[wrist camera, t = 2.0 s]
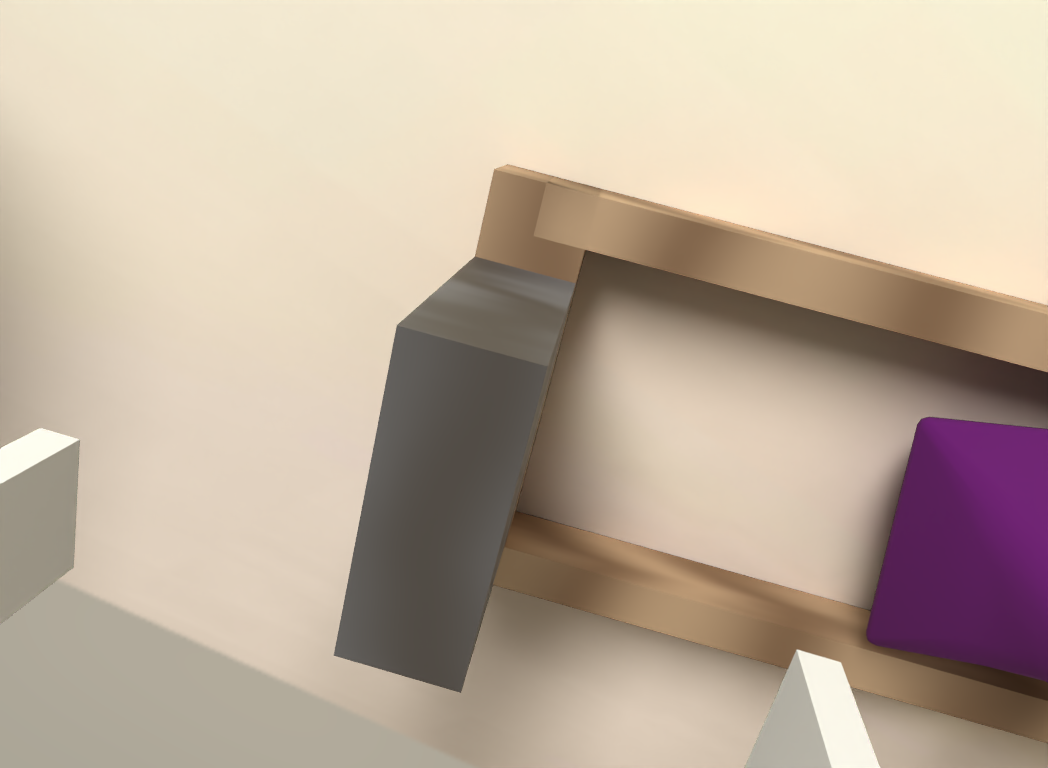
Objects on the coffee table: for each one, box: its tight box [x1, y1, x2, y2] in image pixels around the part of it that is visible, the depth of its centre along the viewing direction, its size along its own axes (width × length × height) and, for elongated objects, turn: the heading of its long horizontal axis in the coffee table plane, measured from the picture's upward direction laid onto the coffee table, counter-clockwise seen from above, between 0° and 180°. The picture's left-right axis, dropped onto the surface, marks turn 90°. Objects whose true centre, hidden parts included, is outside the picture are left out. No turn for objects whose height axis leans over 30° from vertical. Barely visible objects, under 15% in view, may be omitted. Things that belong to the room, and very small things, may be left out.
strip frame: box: [334, 164, 1048, 743], centre depth 21 cm, size 24×13×10 cm, turn 76°
